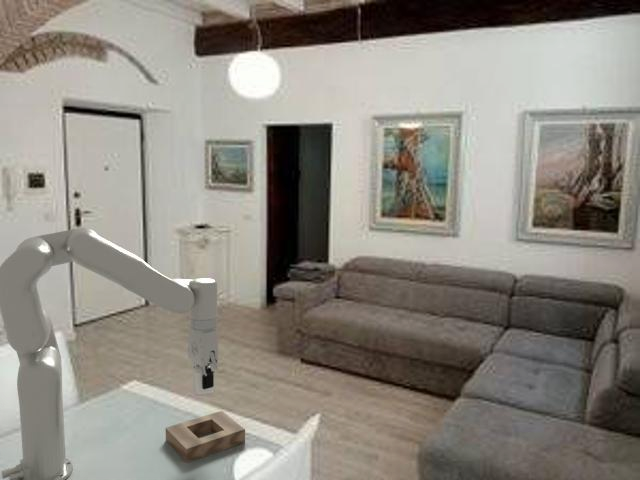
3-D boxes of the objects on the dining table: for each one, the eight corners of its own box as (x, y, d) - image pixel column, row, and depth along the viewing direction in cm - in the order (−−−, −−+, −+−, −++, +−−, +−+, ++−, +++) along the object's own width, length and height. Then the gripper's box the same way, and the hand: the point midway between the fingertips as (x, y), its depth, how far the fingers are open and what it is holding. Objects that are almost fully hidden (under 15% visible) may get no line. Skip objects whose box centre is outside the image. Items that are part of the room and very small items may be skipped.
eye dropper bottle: (210, 398, 147) (210, 357, 145) (191, 395, 148) (191, 355, 146) (216, 391, 151) (216, 351, 149) (198, 389, 152) (197, 349, 151)
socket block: (186, 462, 141) (186, 449, 140) (165, 440, 151) (165, 427, 151) (245, 442, 152) (245, 429, 151) (221, 422, 163) (221, 410, 162)
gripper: (178, 317, 151) (179, 378, 153) (205, 333, 138) (205, 399, 140) (202, 313, 155) (202, 372, 158) (230, 328, 142) (230, 392, 145)
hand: (204, 384), depth 149 cm, fingers closed on eye dropper bottle, 3 cm apart
